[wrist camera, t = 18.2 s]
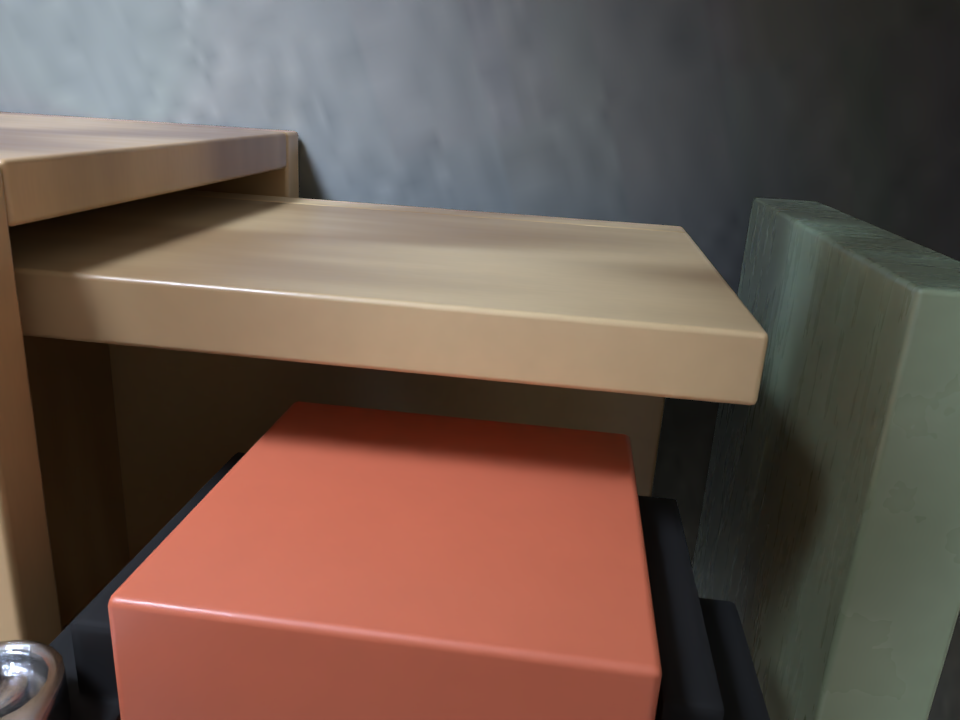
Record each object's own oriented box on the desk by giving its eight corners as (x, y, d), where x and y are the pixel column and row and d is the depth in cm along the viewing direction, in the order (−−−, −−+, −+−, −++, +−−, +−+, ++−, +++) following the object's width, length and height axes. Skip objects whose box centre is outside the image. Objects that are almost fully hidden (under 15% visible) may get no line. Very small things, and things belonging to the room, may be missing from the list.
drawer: (1097, 220, 14) (1650, 347, 7) (956, 687, 17) (1227, 1114, 10) (85, 150, 16) (-332, 188, 9) (128, 581, 19) (-151, 871, 12)
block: (294, 398, 11) (102, 598, 7) (631, 432, 10) (665, 672, 6) (300, 670, 12) (147, 981, 8) (595, 710, 12) (601, 1063, 8)
